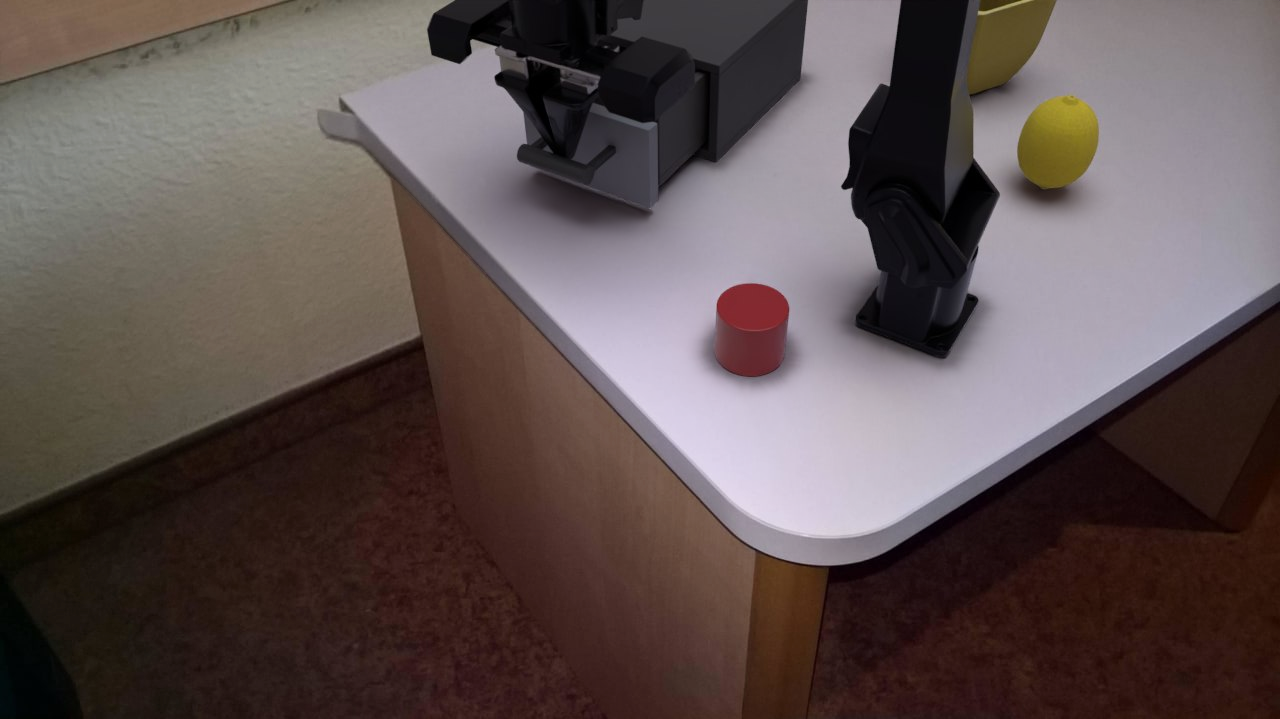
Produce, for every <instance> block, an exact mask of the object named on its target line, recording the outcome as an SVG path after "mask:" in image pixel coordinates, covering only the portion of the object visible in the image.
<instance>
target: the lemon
mask: <svg viewBox="0 0 1280 719" xmlns="http://www.w3.org/2000/svg"><path fill="white" fill-rule="evenodd" d="M1099 136H1100V127H1099V119H1098V117H1097V115H1096V113H1095V111H1094V110H1093V108H1092V107H1091V106H1090V105H1089V104H1088V103H1087V102H1085V101H1084V100H1082V99H1080V98H1077V96H1076V95H1074V94H1068V95H1060V96H1055V97H1052V98H1048V99H1047V100H1045V101H1043V102H1042V103H1039V105H1038V106H1037V107H1035V108H1034V110H1032V112H1031V113H1030V115H1029V116H1028V117H1027V119H1026V121H1025V122H1024V124H1023V126H1022V129H1021V130H1020V134H1019V138H1018V141H1017V148H1016V155H1017V156H1016V157H1017V161H1018V166H1019V169H1020V170H1021V172H1022V173H1023V175H1024V176H1025V178H1027V179H1028V180H1029V181H1030V182H1031V183H1033V184H1035V185H1037V186H1038V187H1039V188H1040V189H1041V190H1049V189H1057V188H1064V187H1066V186H1068V185H1070V184H1073V183H1075V182H1076V181H1077V180H1079V179H1080V178H1081V177H1082V176H1083V175H1084V174H1085V173H1086V172H1087V170H1088V169H1089V167H1090V166H1091V164H1092V162H1093V160H1094V157H1095V156H1096V152H1097V149H1098V145H1099V140H1100V139H1099Z"/></svg>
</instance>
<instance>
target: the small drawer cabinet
mask: <svg viewBox="0 0 1280 719" xmlns="http://www.w3.org/2000/svg"><path fill="white" fill-rule="evenodd" d="M808 5H809V0H644V1H643V8H642V14H641V19H639V20H634V19H633V18H624V19H617V23H618V29H617V30H616V31H615V32H613V33H612V34H611V35H609V36H605V35H601V36H600V37H599V38H598V39H599V40H602V41H606V42H609V43H613V44H616V45H619V46H620V47H624V48H627V47H629V46H630V45H631V44H633V43H634V42H635V41H636V40H638V39H639V38H640V37H646V38H649V39H653V40H656V41H660V42H663V43H667V44H670V45H674V46H677V47H681V48H685V49H686V50H687V51H688V52H689V53H690V54H691V55H692V57H693V60H694V63H695V68H697V69H701V70H704V71H707V72H711V75H710V109H709V139H708V140H707V141H706V142H705V143H704V144H703V145H702V146H701V147H700V148H699V149H698V150H697V151H696V152H695V153H694V154H693V155H692V156H696V157H699V158H702V159H704V160H705V159H706V160H708V161H712V162H714V163H717V162H718V161H719V160H720V159H721V158H722V157H723V156H724V155H725V154H726V153H727V152H728V151H730V149H731V148H733V146H735V144H736V143H737V142H738V141H739V140H741V138H742V137H743V136H745V134H746V133H747V132H748V131H749V130H750V129H752V128H753V126H755V125H756V123H757V122H758V121H759V120H760V119H762V117H763V116H765V115H766V114H767V113H768V112H769V110H770V109H771V108H773V106H775V104H777V103H778V102H779V101H780V99H782V98H783V97H784V96H785V95H786V94H787V92H789V91H790V90H791V89H792V88H793V87H794V86H795V85H796V84H797V83H798V82H799V81H800V80H801V77H802V68H803V56H804V48H805V47H804V46H805V37H806V26H807V15H808V8H809V7H808Z"/></svg>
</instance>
